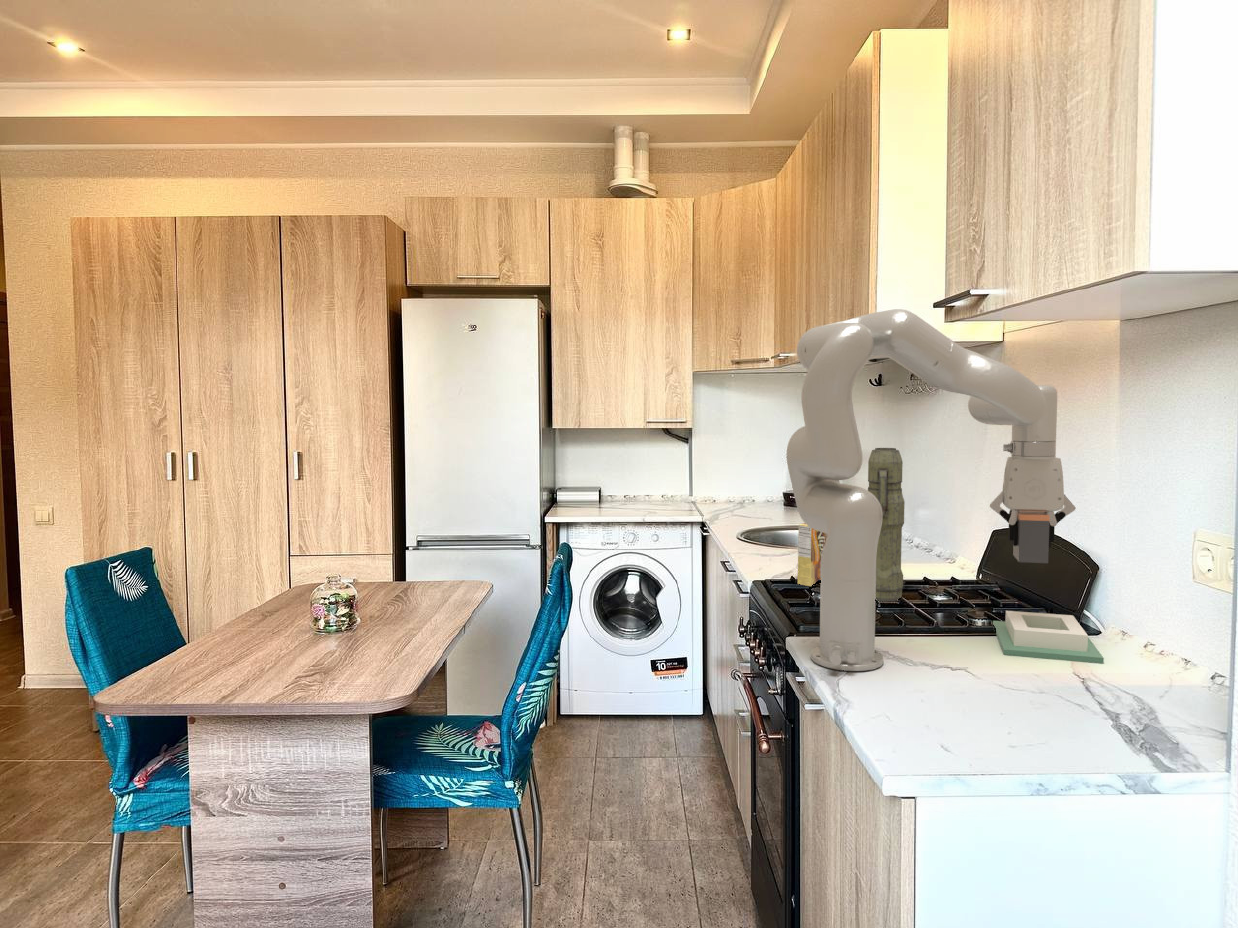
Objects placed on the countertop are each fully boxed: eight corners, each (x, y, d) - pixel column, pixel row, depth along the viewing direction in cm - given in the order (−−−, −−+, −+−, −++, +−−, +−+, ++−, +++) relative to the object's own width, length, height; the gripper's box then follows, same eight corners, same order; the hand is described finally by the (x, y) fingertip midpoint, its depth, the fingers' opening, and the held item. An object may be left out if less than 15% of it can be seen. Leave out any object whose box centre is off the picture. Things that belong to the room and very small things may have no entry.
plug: (1048, 563, 153) (1049, 515, 152) (1018, 562, 155) (1020, 514, 154) (1041, 555, 160) (1042, 510, 159) (1013, 554, 161) (1014, 509, 160)
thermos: (901, 592, 197) (904, 447, 194) (903, 604, 186) (907, 450, 183) (863, 589, 200) (865, 446, 197) (863, 601, 188) (865, 449, 185)
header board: (1103, 663, 145) (1104, 641, 144) (1003, 654, 150) (1004, 633, 150) (1080, 631, 163) (1081, 612, 163) (992, 625, 169) (993, 606, 168)
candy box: (814, 578, 212) (815, 519, 211) (829, 580, 210) (830, 521, 208) (796, 584, 206) (797, 524, 205) (811, 587, 203) (812, 525, 202)
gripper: (986, 451, 154) (984, 547, 156) (1088, 452, 149) (1085, 550, 151) (982, 448, 161) (980, 540, 163) (1079, 449, 156) (1076, 543, 158)
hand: (1030, 544), depth 157 cm, fingers closed on plug, 5 cm apart
